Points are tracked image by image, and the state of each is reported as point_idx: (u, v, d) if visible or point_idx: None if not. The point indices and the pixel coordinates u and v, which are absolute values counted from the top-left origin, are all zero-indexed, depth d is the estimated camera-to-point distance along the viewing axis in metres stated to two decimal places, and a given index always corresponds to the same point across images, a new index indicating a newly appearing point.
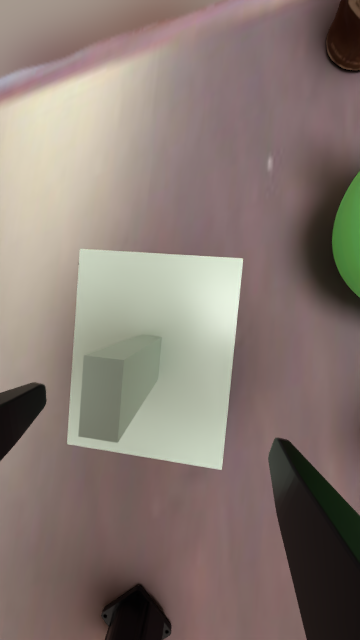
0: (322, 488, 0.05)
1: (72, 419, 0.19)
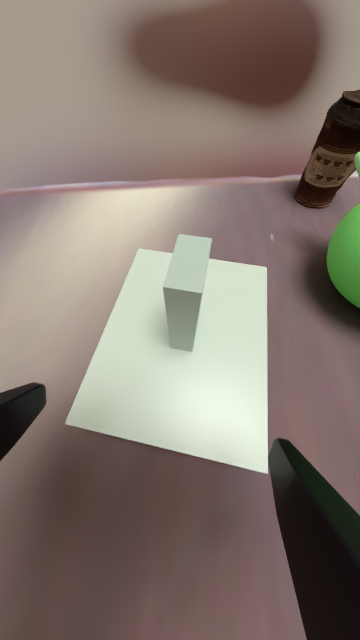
0: (322, 488, 0.05)
1: (83, 390, 0.16)
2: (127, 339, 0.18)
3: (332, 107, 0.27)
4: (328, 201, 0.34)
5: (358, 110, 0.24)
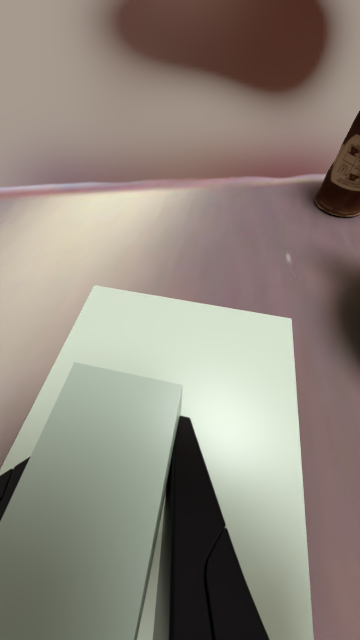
0: (190, 455, 0.05)
1: None
2: None
3: None
4: None
5: None
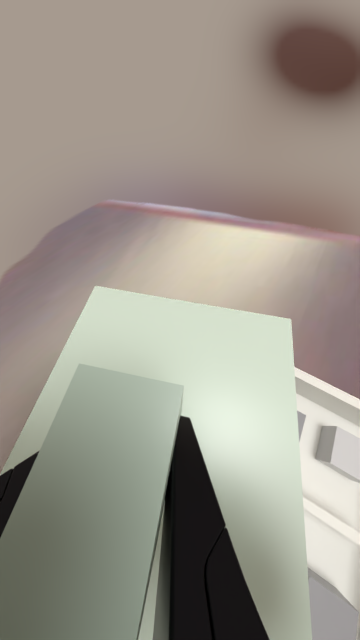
0: (189, 455, 0.05)
1: None
2: None
3: None
4: None
5: None
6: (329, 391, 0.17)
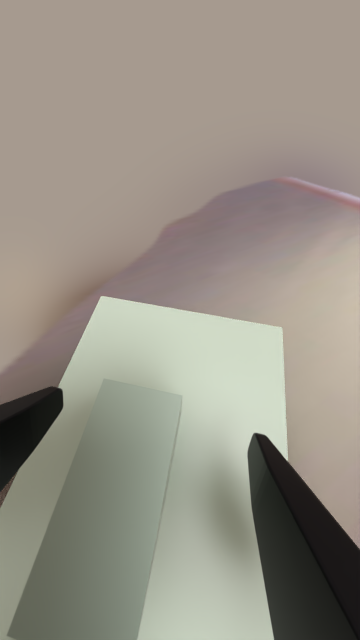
0: (291, 481, 0.05)
1: None
2: (64, 463, 0.11)
3: None
4: None
5: None
6: None
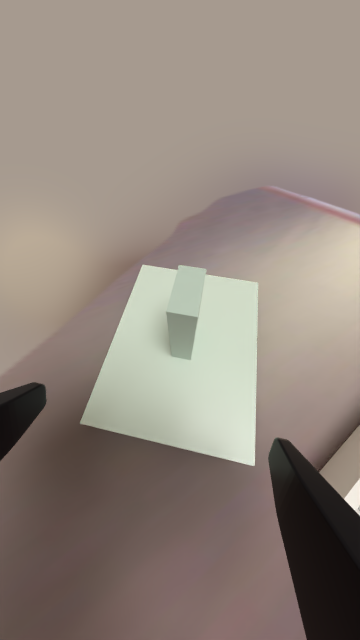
0: (322, 488, 0.05)
1: (95, 394, 0.18)
2: (132, 348, 0.21)
3: None
4: None
5: None
6: None
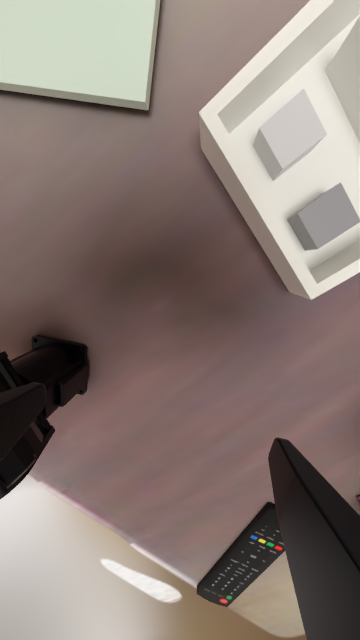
0: (322, 488, 0.05)
1: None
2: None
3: None
4: None
5: None
6: None
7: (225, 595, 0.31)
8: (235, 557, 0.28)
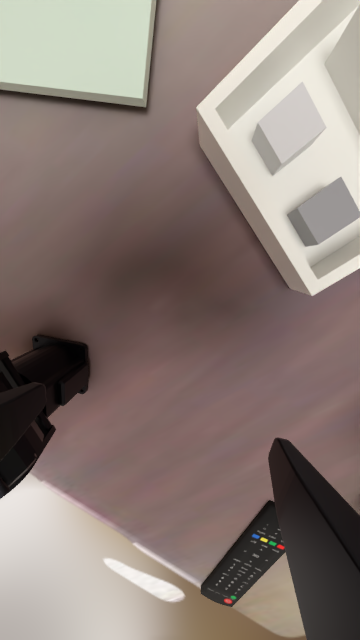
0: (322, 488, 0.05)
1: None
2: None
3: None
4: None
5: None
6: None
7: (229, 595, 0.31)
8: (238, 557, 0.28)
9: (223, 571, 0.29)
